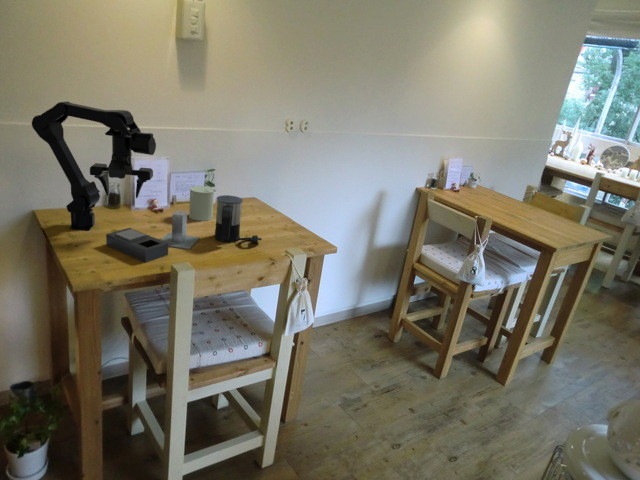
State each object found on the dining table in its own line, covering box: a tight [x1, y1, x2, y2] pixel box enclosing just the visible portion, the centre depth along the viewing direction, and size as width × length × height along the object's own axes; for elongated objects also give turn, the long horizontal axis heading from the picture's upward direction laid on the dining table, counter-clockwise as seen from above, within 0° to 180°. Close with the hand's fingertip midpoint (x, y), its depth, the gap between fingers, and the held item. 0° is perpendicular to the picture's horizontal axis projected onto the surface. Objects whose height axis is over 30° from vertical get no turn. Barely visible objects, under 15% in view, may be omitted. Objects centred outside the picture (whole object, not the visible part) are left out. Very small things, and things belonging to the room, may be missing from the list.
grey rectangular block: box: [171, 209, 188, 243], centre depth 165 cm, size 4×4×10 cm
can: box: [188, 185, 215, 222], centre depth 191 cm, size 9×9×12 cm
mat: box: [160, 232, 200, 250], centre depth 167 cm, size 11×11×1 cm
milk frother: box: [213, 194, 263, 243], centre depth 173 cm, size 14×16×15 cm
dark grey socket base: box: [105, 227, 169, 264], centre depth 155 cm, size 18×9×5 cm, turn 59°
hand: (122, 196), depth 163 cm, fingers open, 9 cm apart
